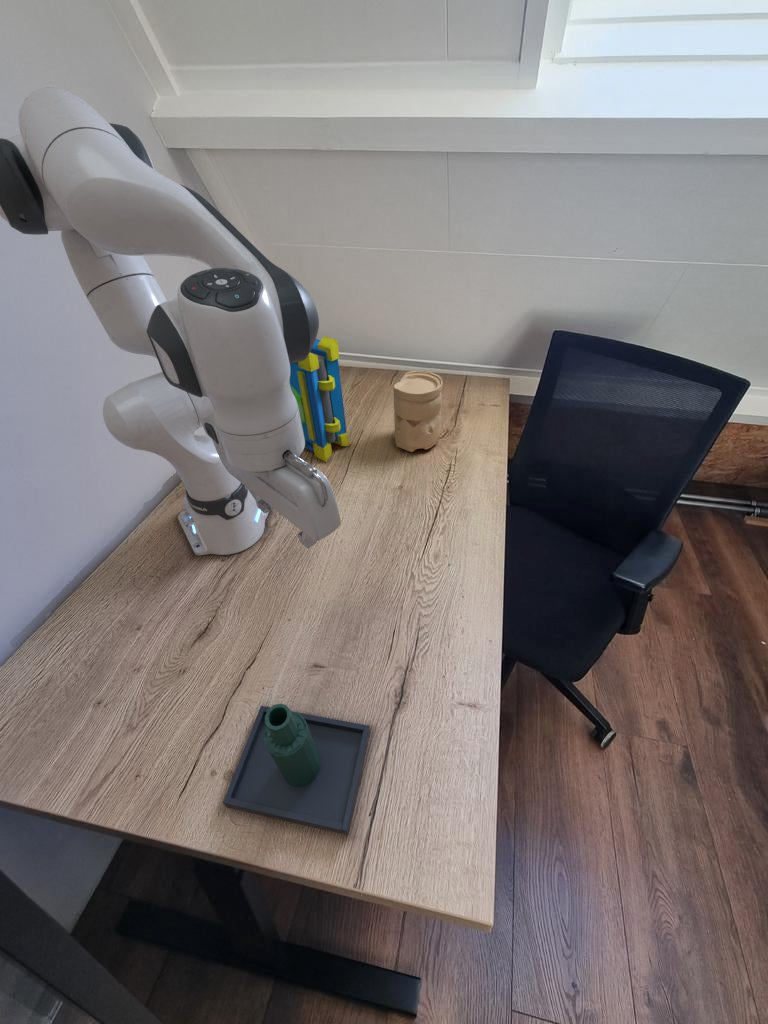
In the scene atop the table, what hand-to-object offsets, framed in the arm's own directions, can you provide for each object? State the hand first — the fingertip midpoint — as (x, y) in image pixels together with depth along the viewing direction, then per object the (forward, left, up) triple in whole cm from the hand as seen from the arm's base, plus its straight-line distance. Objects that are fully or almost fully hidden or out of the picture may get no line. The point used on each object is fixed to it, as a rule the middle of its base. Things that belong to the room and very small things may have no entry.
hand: (287, 525), depth 59 cm
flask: (+13, -14, -30) cm, 36 cm away
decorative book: (-53, +40, -31) cm, 73 cm away
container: (-31, +60, -31) cm, 74 cm away
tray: (+13, -14, -31) cm, 36 cm away
